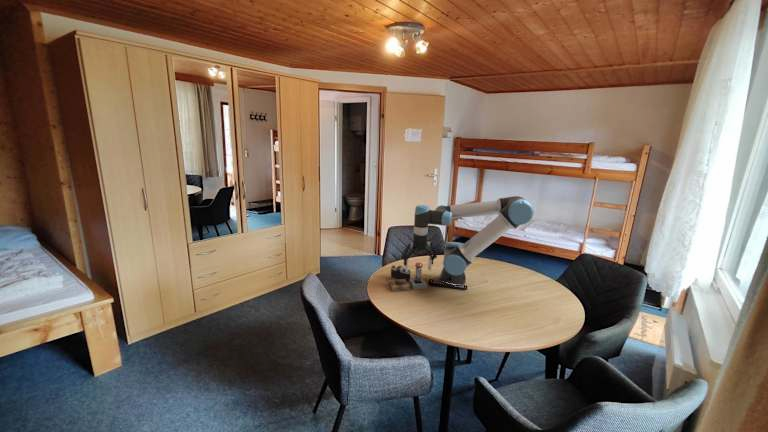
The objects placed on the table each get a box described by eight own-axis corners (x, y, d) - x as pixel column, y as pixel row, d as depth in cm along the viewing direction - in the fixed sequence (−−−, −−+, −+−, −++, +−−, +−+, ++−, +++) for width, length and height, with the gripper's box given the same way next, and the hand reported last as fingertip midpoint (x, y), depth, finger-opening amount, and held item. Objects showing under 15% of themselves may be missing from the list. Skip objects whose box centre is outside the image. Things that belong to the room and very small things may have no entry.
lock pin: (419, 284, 187) (421, 262, 184) (422, 287, 183) (423, 265, 180) (413, 284, 186) (414, 262, 183) (415, 287, 182) (416, 265, 179)
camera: (414, 279, 194) (414, 264, 192) (408, 283, 187) (408, 268, 186) (395, 275, 201) (395, 261, 199) (389, 279, 194) (388, 265, 193)
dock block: (404, 282, 188) (405, 278, 187) (410, 290, 178) (410, 286, 178) (388, 284, 185) (388, 280, 185) (392, 292, 176) (392, 287, 175)
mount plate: (422, 282, 189) (422, 278, 188) (426, 288, 181) (427, 284, 181) (408, 283, 187) (408, 279, 187) (413, 289, 180) (413, 285, 179)
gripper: (439, 231, 184) (436, 266, 189) (396, 232, 178) (394, 268, 183) (444, 235, 177) (441, 271, 182) (400, 236, 171) (398, 274, 176)
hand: (418, 270), depth 182 cm, fingers open, 13 cm apart
